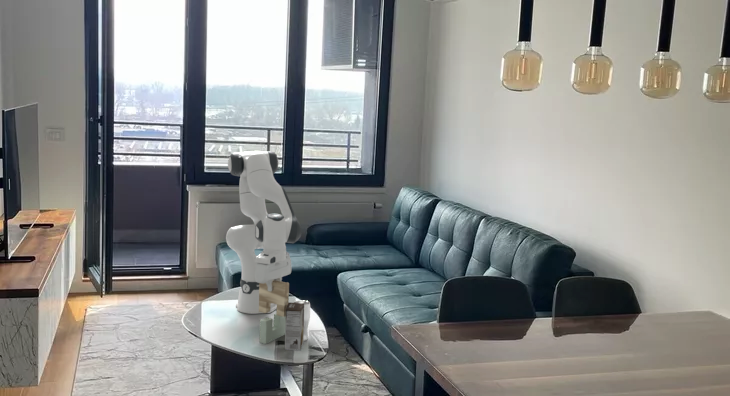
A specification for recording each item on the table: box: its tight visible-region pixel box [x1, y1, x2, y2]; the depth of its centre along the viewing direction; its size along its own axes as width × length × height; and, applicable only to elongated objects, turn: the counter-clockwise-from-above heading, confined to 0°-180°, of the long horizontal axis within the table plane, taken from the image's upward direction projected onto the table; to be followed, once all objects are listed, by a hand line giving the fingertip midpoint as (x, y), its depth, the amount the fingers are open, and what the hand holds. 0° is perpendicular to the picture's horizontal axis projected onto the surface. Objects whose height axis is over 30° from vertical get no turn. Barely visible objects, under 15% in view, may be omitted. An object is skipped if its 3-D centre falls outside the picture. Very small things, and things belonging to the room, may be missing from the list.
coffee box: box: [284, 302, 304, 351], centre depth 267 cm, size 9×6×16 cm
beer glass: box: [293, 300, 311, 343], centre depth 275 cm, size 7×7×15 cm
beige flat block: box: [259, 279, 290, 317], centre depth 273 cm, size 3×12×13 cm, turn 63°
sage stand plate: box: [258, 312, 286, 345], centre depth 275 cm, size 14×3×9 cm, turn 153°
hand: (273, 289), depth 273 cm, fingers closed on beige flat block, 3 cm apart
